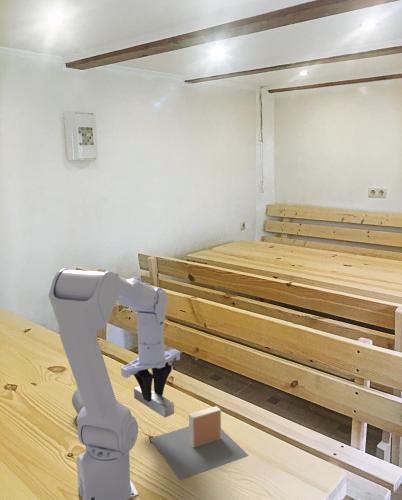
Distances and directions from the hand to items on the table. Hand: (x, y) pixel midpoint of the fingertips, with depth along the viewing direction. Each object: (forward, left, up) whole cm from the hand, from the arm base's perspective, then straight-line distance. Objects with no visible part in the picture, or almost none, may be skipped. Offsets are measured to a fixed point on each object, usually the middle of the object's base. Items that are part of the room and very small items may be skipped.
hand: (152, 397), depth 103 cm
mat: (+6, -9, -9) cm, 15 cm away
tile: (+9, -8, -9) cm, 15 cm away
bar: (0, 0, -2) cm, 2 cm away
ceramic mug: (-9, +15, -10) cm, 20 cm away
